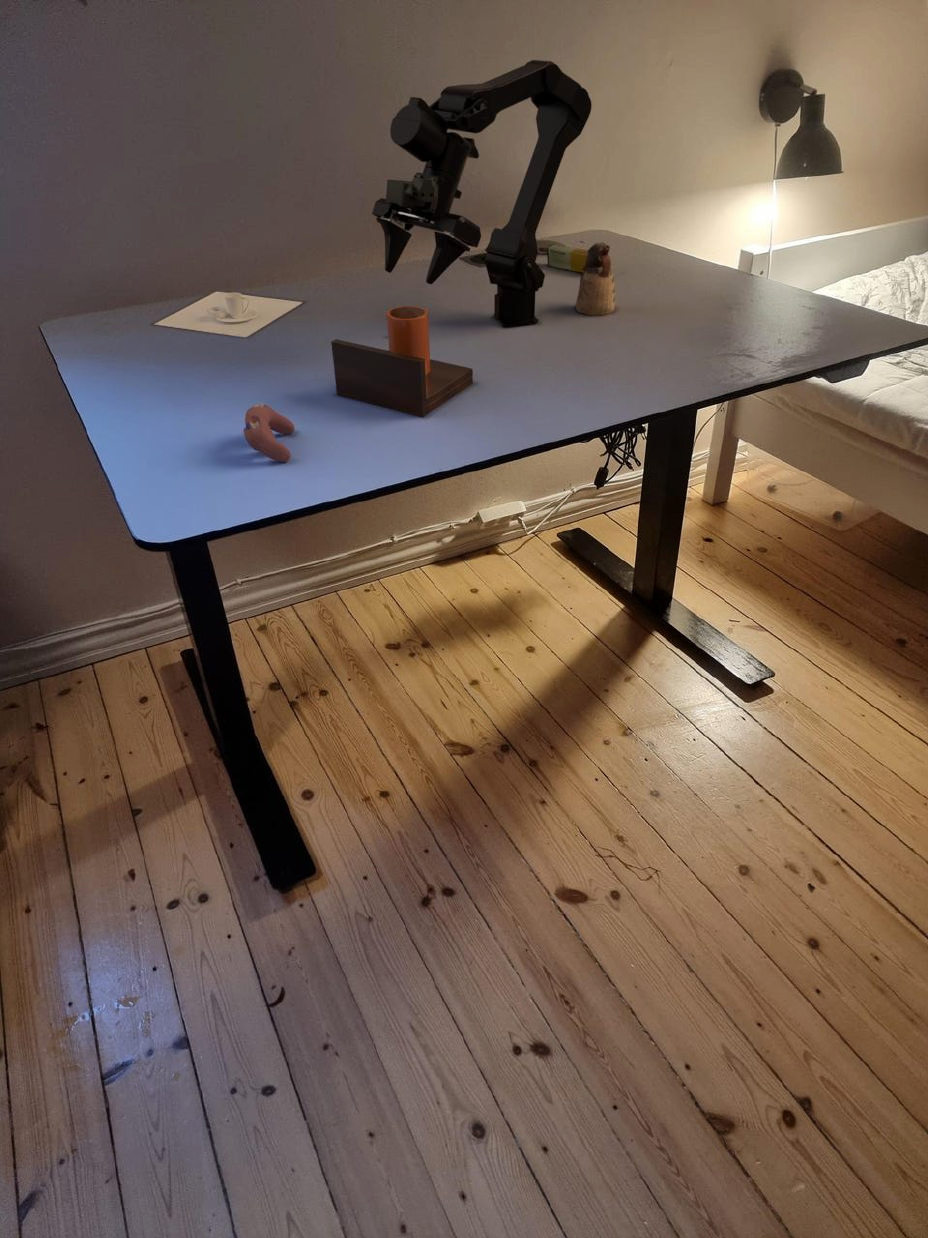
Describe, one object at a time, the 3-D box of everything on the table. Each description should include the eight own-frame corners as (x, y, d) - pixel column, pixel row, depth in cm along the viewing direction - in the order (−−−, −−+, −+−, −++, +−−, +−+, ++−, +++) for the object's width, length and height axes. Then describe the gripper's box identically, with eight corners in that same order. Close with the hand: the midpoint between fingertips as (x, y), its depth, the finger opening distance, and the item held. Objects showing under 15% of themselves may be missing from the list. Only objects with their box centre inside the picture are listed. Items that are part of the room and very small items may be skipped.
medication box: (546, 266, 188) (545, 246, 186) (554, 262, 190) (553, 242, 187) (593, 275, 182) (593, 255, 179) (601, 270, 183) (601, 251, 180)
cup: (424, 360, 141) (421, 303, 135) (435, 375, 136) (433, 316, 131) (386, 366, 140) (382, 308, 134) (396, 380, 135) (392, 321, 129)
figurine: (604, 301, 170) (609, 235, 162) (621, 312, 164) (627, 245, 157) (570, 305, 168) (573, 239, 161) (586, 317, 163) (590, 249, 155)
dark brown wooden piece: (390, 364, 147) (386, 312, 141) (473, 383, 140) (472, 330, 135) (336, 395, 137) (330, 341, 132) (422, 417, 130) (420, 361, 125)
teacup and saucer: (202, 321, 164) (198, 299, 162) (227, 307, 170) (223, 285, 168) (242, 326, 162) (239, 304, 159) (266, 312, 167) (263, 290, 165)
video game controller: (271, 442, 128) (242, 403, 124) (298, 427, 127) (269, 387, 123) (265, 475, 120) (233, 434, 116) (293, 460, 119) (262, 418, 115)
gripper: (365, 144, 134) (332, 247, 137) (454, 159, 124) (417, 271, 127) (412, 175, 143) (380, 272, 146) (498, 192, 133) (462, 296, 136)
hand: (407, 277), depth 139 cm, fingers open, 9 cm apart
